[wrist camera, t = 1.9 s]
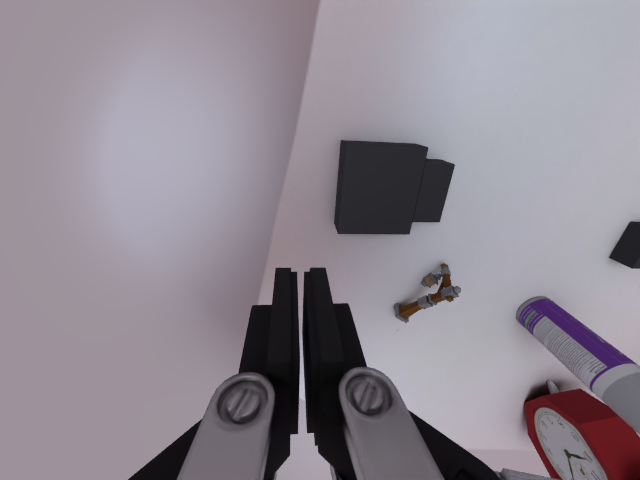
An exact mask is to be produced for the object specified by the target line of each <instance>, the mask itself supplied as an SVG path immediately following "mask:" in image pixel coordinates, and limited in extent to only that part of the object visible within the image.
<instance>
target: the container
mask: <svg viewBox="0 0 640 480" xmlns="http://www.w3.org/2000/svg"><path fill="white" fill-rule="evenodd" d="M516 318H517V320H518V322H519V323H520V324H521V325H522V326H524V327H525V328H526V329H527V330H528V331H529V332H530V333H531V334H532V335H533V336H534V337H535V338H536V339H537V340H538V341H539V342H540V343H541V344H543V345H544V346H545V347H546V348H547V349H548V350H549V351H550V352H551V353H552V354H553V355H554V356H555V357H556V358H557V359H558V360H559V361H560V362H562V363H563V364H564V365H565V366H566V367H567V368H568V369H569V370H570V371H571V372H572V373H573V374H574V375H575V376H576V377H577V378H578V379H579V380H581V381H582V382H583V383H584V384H585V385H586V386H587V387H588V388H589V389H590V390H591V391H592V392H593V393H594V394H595V395H597V396H598V397H599V398H600V399H601V400H602V401H603V402H604V403H605V404H607V405H608V406H609V407H610V408H611V409H612V410H613V411H614V412H615V413H616V414H618V415H619V416H620V417H621V418H622V419H623V420H624V421H625V422H626V423H627V424H628V425H630V426H631V427H632V428H633V429H634V430H635V431H636V432H637V433H638V434H639V435H640V366H639V365H637V364H636V363H635V362H633V361H632V360H631V359H629V358H628V357H627V356H625V355H624V354H623V353H621V352H620V351H618V350H617V349H616V348H614V347H613V346H612V345H610V344H609V343H608V342H606V341H605V340H604V339H602V338H601V337H600V336H598V335H597V334H596V333H594V332H593V331H592V330H590V329H589V328H588V327H586V326H585V325H583V324H582V323H581V322H579V321H578V320H577V319H575V318H574V317H573V316H571V315H570V314H569V313H567V312H566V311H565V310H563V309H562V308H561V307H559V306H558V305H557V304H555V303H554V302H553V301H551V300H550V299H548V298H547V297H535V298H532V299H530V300H528V301H526V302H525V303H524V304H523V305H521V307H520V308H519V309H518V311H517V314H516Z"/></svg>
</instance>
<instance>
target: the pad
mask: <svg viewBox="0 0 640 480" xmlns="http://www.w3.org/2000/svg"><path fill="white" fill-rule="evenodd" d="M427 151H428V147H425V146H422V145H418V144H410V143H389V142H367V141H345V140H342V141H341V146H340V158H339V170H338V182H337V195H336V207H335V219H334V224H335V227H336V230H337V232H338V234H410V230H411V225H412V222H440V219H441V215H442V211H443V207H444V204H445V200H446V196H447V192H448V188H449V185H450V181H451V177H452V173H453V170H454V166H455V165H454V164H452V163H449V162H446V161H443V160H439V159H426V156H427Z"/></svg>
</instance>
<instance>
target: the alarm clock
mask: <svg viewBox="0 0 640 480" xmlns="http://www.w3.org/2000/svg"><path fill="white" fill-rule="evenodd" d="M547 384H548V388H549V391H550V395H544V396H541V397H538V398H536V399H533V400H531V401H528V402H526V403H524V405H525V413H526V421H527V429H528V435H529V437H530V439H531V441H532V443H533V445H534V446H535V448H536V450H537V452H538V454H539V456H540V458H541V460H542V461H543V463H544V465H545V467H546V469H547V471H548V472H549V475H550V476H551V478H554V479H558V480H640V437H639V436H638V434H637V433H636V432H635V430H634V429H633V428H632V427H631V426H630V425H628V424H627V423H626V422H625V421H624V420H623V419H622V418H621V417H620V416H619V415H618V414H616V413H615V412H614V411H613V410H612V409H611V408H610V407H609V406H607V405H605V404H604V403H602V402H601V401H599V400H597V399H596V398H594V397H593V396H591V395H589V394H588V393H586V392H585V391H583V390H581V389H576V390H570V391H565V392H560V391H559V390H558V389H557V387H556V386H555V385H554V383H553V382H552V381H551V380H548V381H547Z"/></svg>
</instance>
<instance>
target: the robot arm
mask: <svg viewBox="0 0 640 480" xmlns="http://www.w3.org/2000/svg"><path fill="white" fill-rule="evenodd" d="M302 335H303V357H304V378H305V399H306V419H307V433H314V438H315V446H316V445H318V452H319V454H320V455H321V456H322V457H323V458H325V460H327V461H328V462H329V463H330V470H331V475H332V479H333V480H558V479H554V478H548V477H544V476H539V475H534V474H529V473H524V472H518V471H514V470H509V469H504V468H503V470H502V471H501V472H497V471H493V470H492V469H490V468H489V467H488V466H487V465H486V464H484V463H483V462H482V461H481V460H479V459H478V458H476V457H475V456H473V455H472V454H471V453H469V452H468V451H466V450H465V449H463V448H462V447H461V446H459V445H458V444H456V443H455V442H453V441H452V440H451V439H449V438H448V437H446V436H445V435H443V434H442V433H441V432H439V431H438V430H436V429H435V428H433V427H432V426H430V425H429V424H428V423H426V422H425V421H423V420H422V419H420V418H419V417H418V416H416V415H415V414H413V413H412V412H410V411H409V410H408V409H407V407H406V406H405V404H404V402H403V400H402V398H401V396H400V394H399V392H398V390H397V388H396V387H395V385H394V384H393V382H392V381H391V379H389V378H388V377H387V376H386V375H385V374H384V373H382V372H380V371H378V370H376V369H373V368H369V367H367V365H366V362H365V358H364V355H363V352H362V348H361V345H360V341H359V338H358V334H357V331H356V327H355V324H354V321H353V317H352V314H351V310H350V307H349V305H348V304H347V303H343V304H333V301H332V296H331V292H330V287H329V282H328V277H327V273H326V268H310V272H304V296H303V328H302ZM299 375H300V349H299V318H298V288H297V272H291V268H276V271H275V281H274V291H273V301H272V305H253V306H252V308H251V313H250V318H249V323H248V328H247V333H246V338H245V343H244V348H243V353H242V358H241V363H240V368H239V373H238V374H237V375H234V376H232V377H230V378H228V379H227V380H225V381H224V382H223V383H222V384H221V385H220V386H219V387H218V388H217V389H216V391H215V393H214V395H213V396H212V398H211V400H210V403H209V405H208V407H207V410H206V412H205V414H204V417H203V419H201V420H200V421H199V422H198V423H196V424H195V425H194V426H193V427H191V428H190V429H189V430H188V431H187V432H185V433H184V434H183V435H182V436H181V437H179V438H178V439H177V440H176V441H174V442H173V443H172V444H171V445H170V446H168V447H167V448H166V449H165V450H163V451H162V452H161V453H160V454H159V455H158V456H156V457H155V458H154V459H152V460H151V461H150V462H149V463H148V464H146V465H145V466H144V467H143V468H141V469H140V470H139V471H138V472H137V473H135V474H134V475H133V476H132V477H131V478H129V479H128V480H276V477H277V470H278V469H279V468H280V466H281V465H282V464H283V463H284V462H285V460H286V459H287V458H288V457H289V455H290V434H298V410H299Z"/></svg>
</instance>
